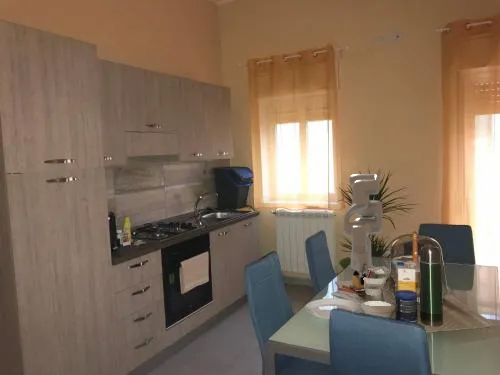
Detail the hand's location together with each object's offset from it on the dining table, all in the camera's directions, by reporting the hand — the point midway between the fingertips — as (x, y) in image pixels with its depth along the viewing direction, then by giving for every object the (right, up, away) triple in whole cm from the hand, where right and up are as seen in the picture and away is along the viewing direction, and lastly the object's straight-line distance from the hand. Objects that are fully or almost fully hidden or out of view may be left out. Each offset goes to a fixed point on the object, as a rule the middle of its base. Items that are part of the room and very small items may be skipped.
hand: (360, 282), depth 210 cm
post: (0, -2, 0) cm, 2 cm away
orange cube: (0, -2, 0) cm, 2 cm away
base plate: (0, -4, 0) cm, 4 cm away
